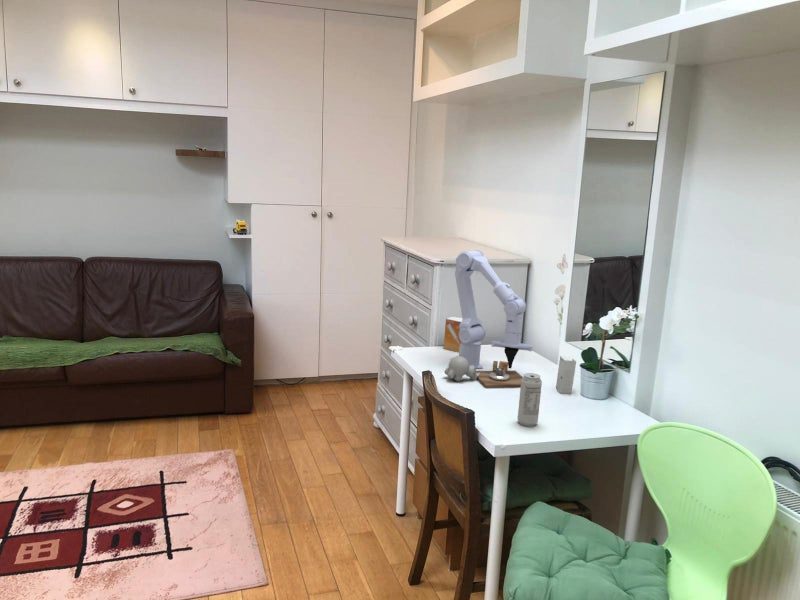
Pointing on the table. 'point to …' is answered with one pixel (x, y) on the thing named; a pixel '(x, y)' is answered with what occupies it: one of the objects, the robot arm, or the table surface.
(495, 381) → the walnut board
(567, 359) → the skincare box
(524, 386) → the energy drink can
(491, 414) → the table surface
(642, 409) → the table surface
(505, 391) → the table surface
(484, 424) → the table surface
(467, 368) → the chubby cartoon animal
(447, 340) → the small box
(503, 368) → the dial plate
